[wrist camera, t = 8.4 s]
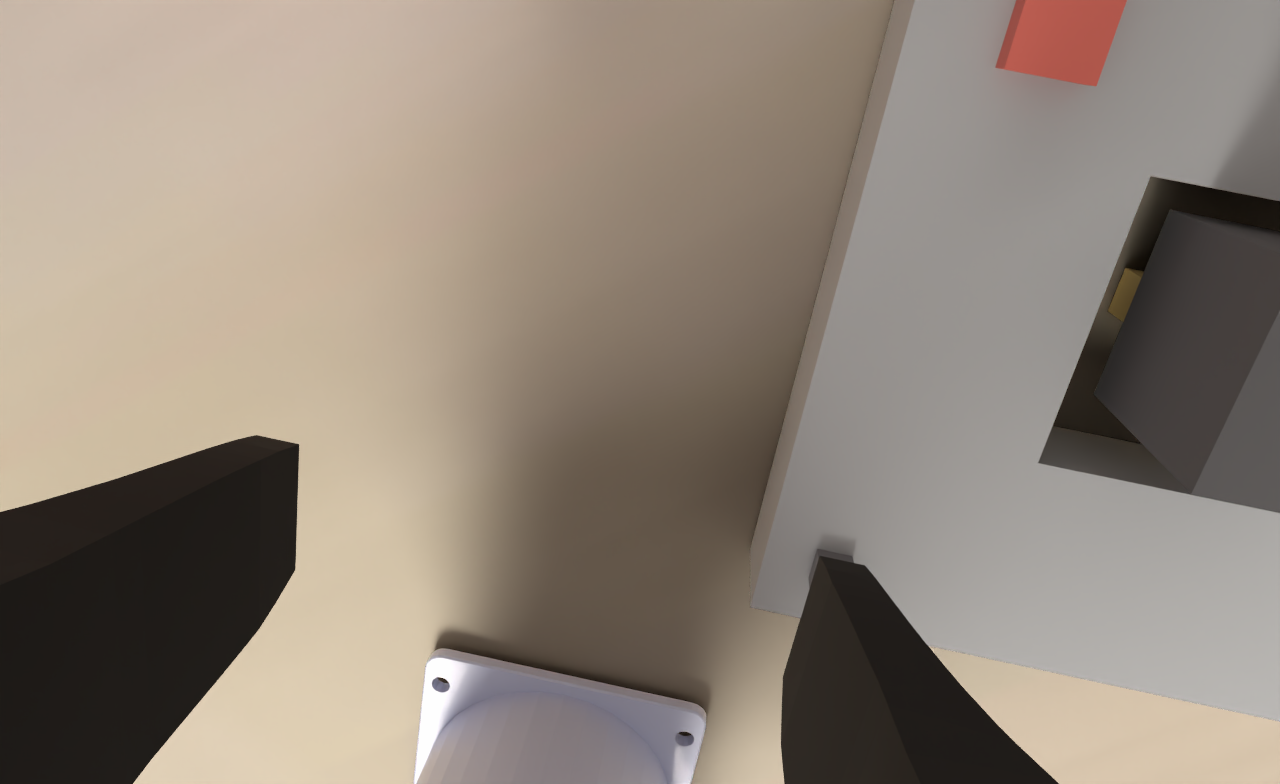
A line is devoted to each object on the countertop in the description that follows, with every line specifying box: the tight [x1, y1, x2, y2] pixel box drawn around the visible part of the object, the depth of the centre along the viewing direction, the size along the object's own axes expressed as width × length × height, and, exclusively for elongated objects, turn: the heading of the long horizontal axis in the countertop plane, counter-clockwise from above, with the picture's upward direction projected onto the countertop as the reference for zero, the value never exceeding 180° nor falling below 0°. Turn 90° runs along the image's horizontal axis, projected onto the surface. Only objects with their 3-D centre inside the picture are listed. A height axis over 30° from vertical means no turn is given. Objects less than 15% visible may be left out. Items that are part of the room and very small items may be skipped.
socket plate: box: [750, 0, 1280, 722], centre depth 18 cm, size 16×16×3 cm
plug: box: [1094, 210, 1280, 513], centre depth 17 cm, size 4×4×6 cm
